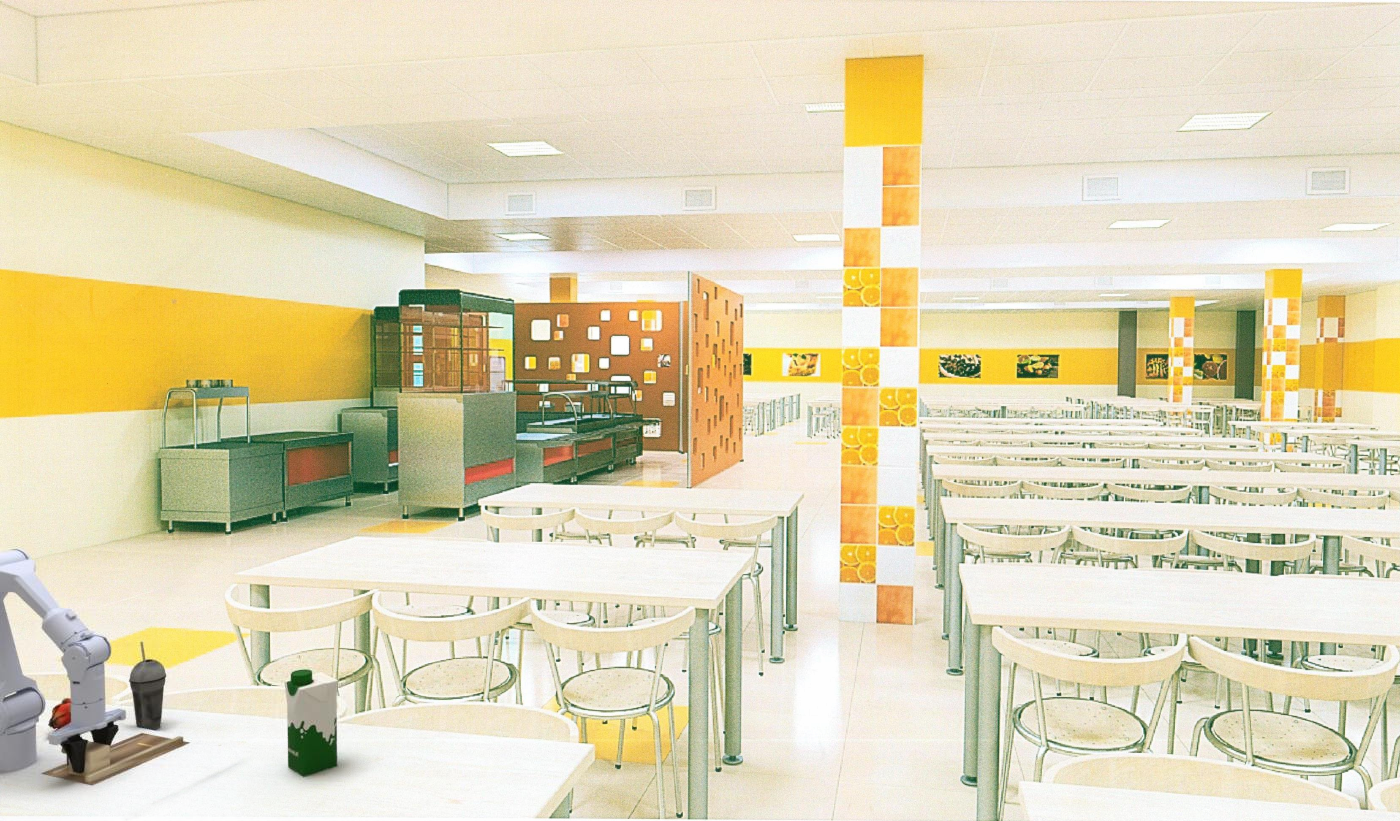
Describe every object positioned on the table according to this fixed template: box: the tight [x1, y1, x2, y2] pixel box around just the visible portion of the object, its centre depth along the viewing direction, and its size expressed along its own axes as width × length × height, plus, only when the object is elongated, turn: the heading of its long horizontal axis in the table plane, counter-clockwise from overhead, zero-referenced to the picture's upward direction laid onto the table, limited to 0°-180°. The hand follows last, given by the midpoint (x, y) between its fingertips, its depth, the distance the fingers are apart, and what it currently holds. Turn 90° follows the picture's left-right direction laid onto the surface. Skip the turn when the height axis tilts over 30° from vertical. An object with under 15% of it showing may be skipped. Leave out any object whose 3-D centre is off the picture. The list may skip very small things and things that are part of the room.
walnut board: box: [41, 732, 191, 786], centre depth 196 cm, size 14×22×3 cm, turn 159°
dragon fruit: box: [47, 697, 71, 732], centre depth 213 cm, size 8×8×12 cm
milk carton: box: [284, 668, 339, 778], centre depth 196 cm, size 9×9×20 cm
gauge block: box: [61, 740, 110, 777], centre depth 190 cm, size 10×4×5 cm, turn 69°
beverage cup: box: [128, 641, 167, 732], centre depth 215 cm, size 7×7×20 cm
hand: (89, 767), depth 189 cm, fingers closed on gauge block, 4 cm apart
